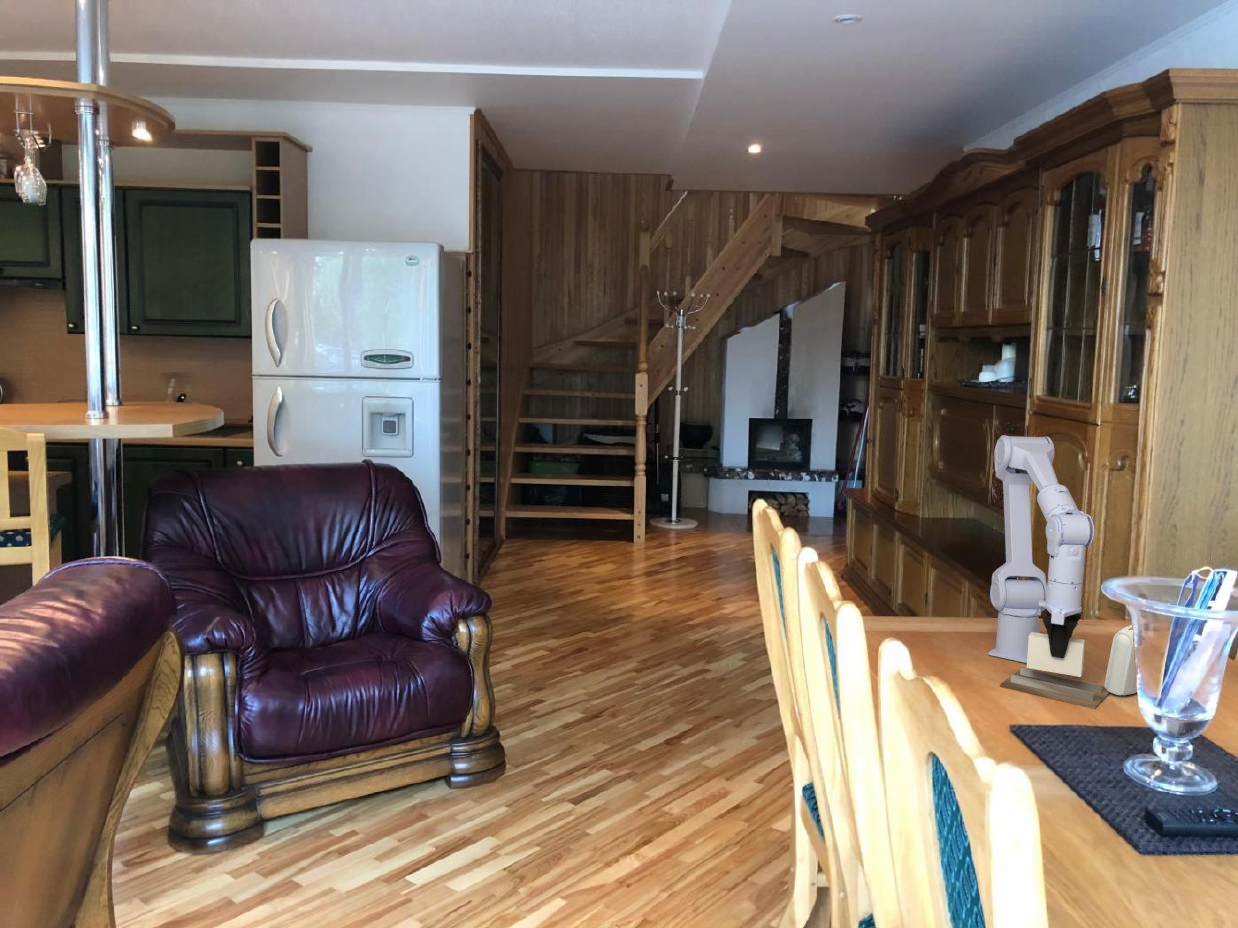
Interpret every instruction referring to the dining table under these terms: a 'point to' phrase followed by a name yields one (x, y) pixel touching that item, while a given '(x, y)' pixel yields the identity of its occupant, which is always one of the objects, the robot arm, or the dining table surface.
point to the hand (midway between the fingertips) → (1058, 654)
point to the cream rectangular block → (1044, 661)
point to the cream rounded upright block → (1121, 664)
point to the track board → (1057, 687)
